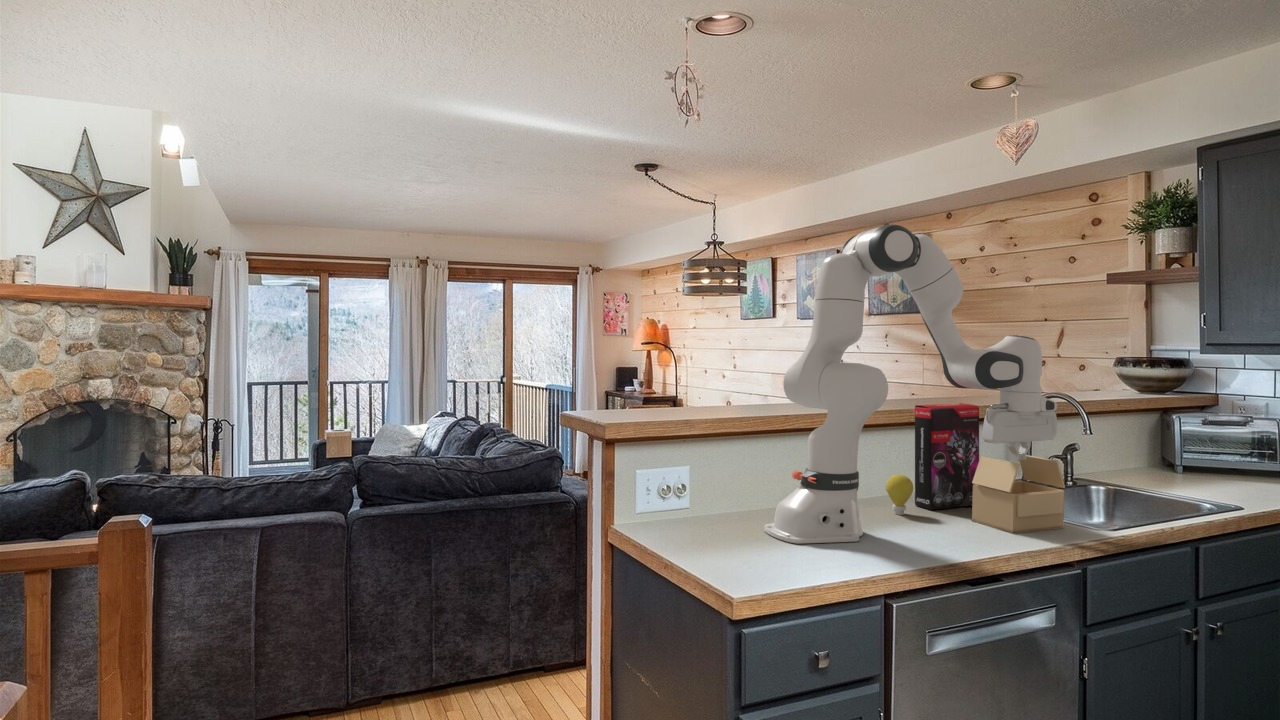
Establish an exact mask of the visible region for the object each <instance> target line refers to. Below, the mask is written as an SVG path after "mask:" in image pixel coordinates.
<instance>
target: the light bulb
mask: <svg viewBox="0 0 1280 720" xmlns="http://www.w3.org/2000/svg"><path fill="white" fill-rule="evenodd" d="M914 490H915V487H914V484H913V481H911V479H910V478H909V477H908V476H906V475H904V474H898V473H897V474H893V475H891V477H889V478H888V479H887V481H886V483H885V491H886V493H887V495H888V497H889V498H890V500H891V501H892V503H893V504H892V507H891V508H892V510H893V514H895V515H899V516H901V515H905V511H906V510H907V507H906V505H905V504H906V503H907V502H908V501H909V499H910V498H911V496H912V494H913V492H914Z"/></svg>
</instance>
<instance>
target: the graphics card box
mask: <svg viewBox="0 0 1280 720" xmlns="http://www.w3.org/2000/svg"><path fill="white" fill-rule="evenodd" d="M979 460H980V406H979V405H976V404H970V403H963V402H960V403H944V404H943V403H941V404H939V403H937V404H915V405H914V505H915V506H917V507H919V508H923V509H926V510H932V511H934V510H935V511H936V510H942V509H943V510H945V509H950V508H959V507H962V508H963V507H970V506H972V501H973V485H974V484H973V483H972V481H973V478H974V475H975V472H976V469H977V466H978V463H979Z"/></svg>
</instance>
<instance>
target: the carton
mask: <svg viewBox="0 0 1280 720" xmlns="http://www.w3.org/2000/svg"><path fill="white" fill-rule="evenodd" d="M971 506H972V507H971V508H972V509H971V512H972V513H971V522H973V521H974V523H976V522H977V523H976V524H980V525H983V524H984V526H986V525H987V526H986V527H989V526H990V528H993V529H996V530H999V531H1003V532H1007V533H1009V534H1013V535H1014V534H1020V533H1021V534H1024V533H1030V532H1031V533H1032V532H1039V531H1049V530H1056V529H1064V524H1065V523H1064V522H1065V521H1064V519H1065V518H1064V517H1065V490H1064V489H1060V488H1057V487H1056V488H1055V487H1053V486H1046V485H1044V484H1043V485H1041V484H1037V483H1035V482H1033V483H1032V482H1030V481H1029V482H1028V481H1026V480H1025V481H1024V480H1018V481H1017V480H1015V481H1014V484H1013V487H1012V490H1011V493H1010V492H1006V491H1002V490H998V489H994V488H989V487H985V486H981V485H977V484H974V485H973V501H972V505H971Z"/></svg>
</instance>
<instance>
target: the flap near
mask: <svg viewBox="0 0 1280 720" xmlns="http://www.w3.org/2000/svg"><path fill="white" fill-rule="evenodd" d="M1020 467H1021V465H1020V462H1019V463H1018V462H1015V461H1008V460H1003V459H998V458H993V457H987V456H983V455H980V456H979V463H978V466H977V469H976V472H975V475H974V478H973V481H972V483H973V484H977V485H981V486H985V487H989V488H994V489H998V490H1002V491H1006V492H1010V493H1011V490H1012V487H1013V484H1014V481H1016V478H1017V474H1018V471H1019V469H1020Z"/></svg>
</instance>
